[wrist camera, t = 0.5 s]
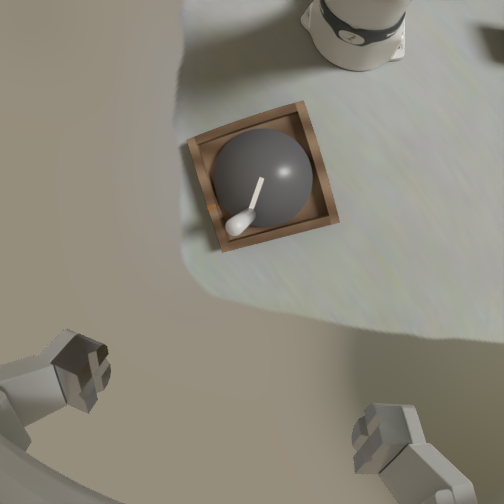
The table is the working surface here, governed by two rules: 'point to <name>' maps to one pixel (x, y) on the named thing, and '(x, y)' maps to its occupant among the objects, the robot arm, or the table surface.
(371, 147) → the table surface
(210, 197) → the dial housing
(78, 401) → the robot arm
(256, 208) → the dial
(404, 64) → the table surface
